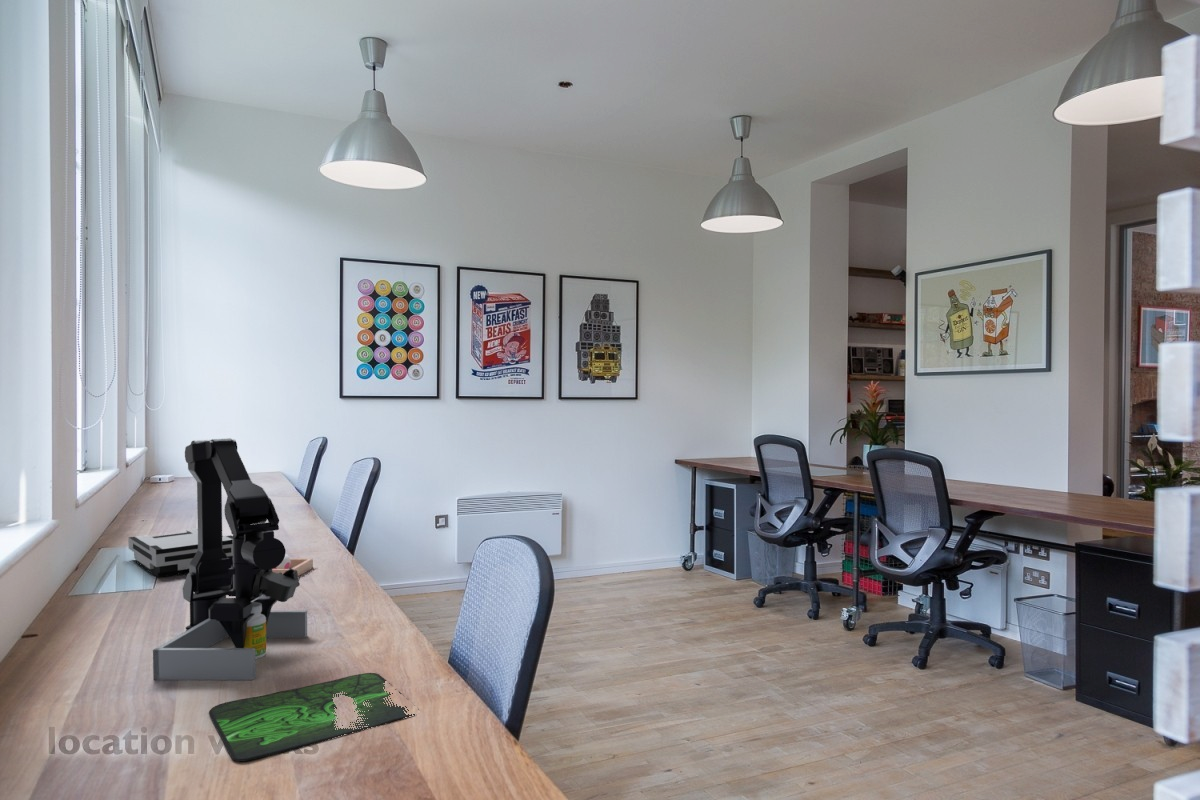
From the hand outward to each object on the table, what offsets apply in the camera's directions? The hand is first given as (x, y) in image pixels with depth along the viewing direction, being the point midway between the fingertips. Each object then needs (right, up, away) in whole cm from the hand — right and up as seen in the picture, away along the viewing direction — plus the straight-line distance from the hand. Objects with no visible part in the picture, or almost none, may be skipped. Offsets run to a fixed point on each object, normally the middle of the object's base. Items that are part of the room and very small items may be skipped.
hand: (250, 642), depth 142 cm
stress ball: (-22, -2, +63) cm, 67 cm away
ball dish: (-22, -2, +64) cm, 67 cm away
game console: (-55, -2, +76) cm, 94 cm away
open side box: (-3, -3, 0) cm, 4 cm away
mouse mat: (+21, -4, -24) cm, 33 cm away
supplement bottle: (0, -3, 0) cm, 3 cm away
